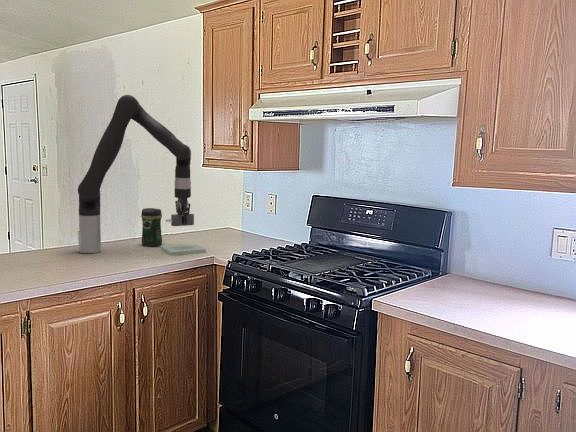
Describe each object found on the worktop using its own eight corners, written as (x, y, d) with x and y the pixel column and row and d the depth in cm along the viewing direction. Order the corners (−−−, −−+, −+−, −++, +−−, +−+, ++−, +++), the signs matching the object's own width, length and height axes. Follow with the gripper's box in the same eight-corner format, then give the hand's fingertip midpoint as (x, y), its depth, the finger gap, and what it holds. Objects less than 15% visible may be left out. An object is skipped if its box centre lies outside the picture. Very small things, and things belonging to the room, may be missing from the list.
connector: (168, 226, 242) (168, 215, 242) (164, 225, 246) (164, 214, 245) (195, 225, 249) (195, 214, 249) (191, 223, 253) (192, 213, 252)
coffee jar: (164, 244, 263) (164, 208, 260) (154, 247, 256) (154, 209, 253) (149, 242, 267) (148, 206, 264) (138, 245, 259) (138, 208, 257)
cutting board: (171, 255, 239) (171, 252, 239) (159, 249, 252) (159, 245, 252) (205, 252, 248) (205, 249, 247) (193, 246, 261) (193, 243, 261)
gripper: (169, 186, 250) (169, 221, 252) (180, 188, 238) (180, 226, 240) (184, 186, 254) (184, 221, 256) (195, 188, 242) (195, 225, 244)
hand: (182, 223), depth 248 cm, fingers closed on connector, 4 cm apart
